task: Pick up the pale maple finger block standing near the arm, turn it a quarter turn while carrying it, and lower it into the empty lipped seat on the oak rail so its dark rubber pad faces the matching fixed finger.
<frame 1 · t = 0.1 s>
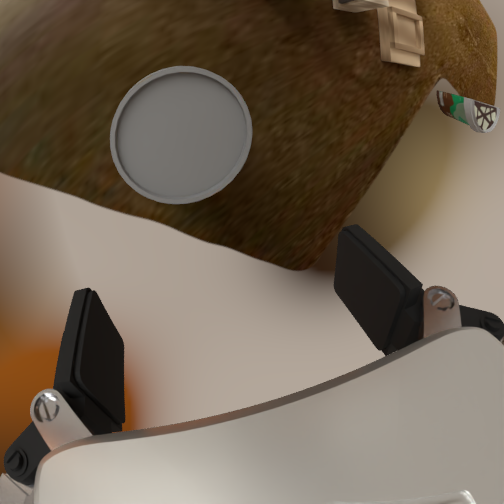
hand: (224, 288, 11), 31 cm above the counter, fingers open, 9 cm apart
reusable coffee cup: (175, 118, 34), on the counter
food container: (448, 107, 44), on the counter
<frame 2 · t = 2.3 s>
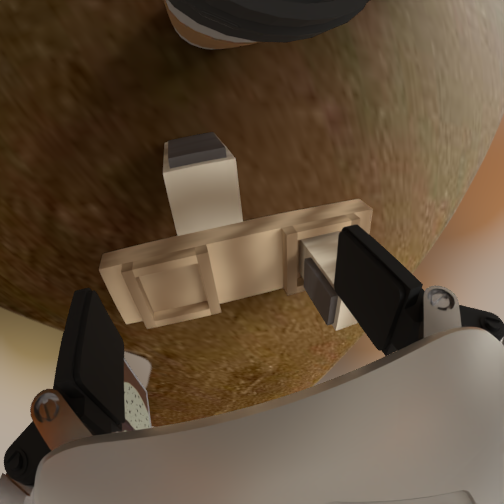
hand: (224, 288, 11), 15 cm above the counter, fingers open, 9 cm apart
rail: (241, 253, 29), on the counter
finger: (193, 160, 23), on the counter
coffee cup: (213, 14, 16), on the counter
food container: (116, 376, 35), on the counter
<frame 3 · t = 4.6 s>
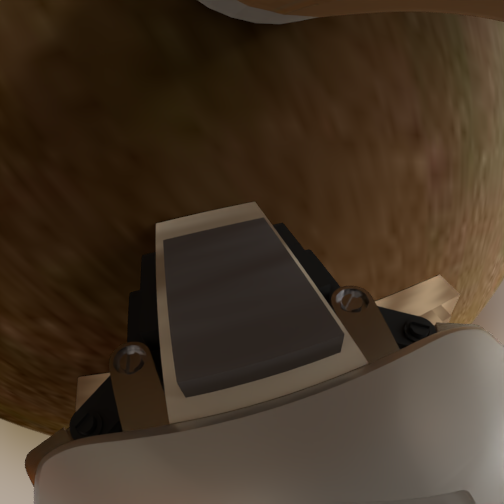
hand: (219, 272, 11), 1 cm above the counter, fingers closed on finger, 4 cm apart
rail: (284, 364, 19), on the counter
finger: (213, 254, 12), on the counter, touching gripper
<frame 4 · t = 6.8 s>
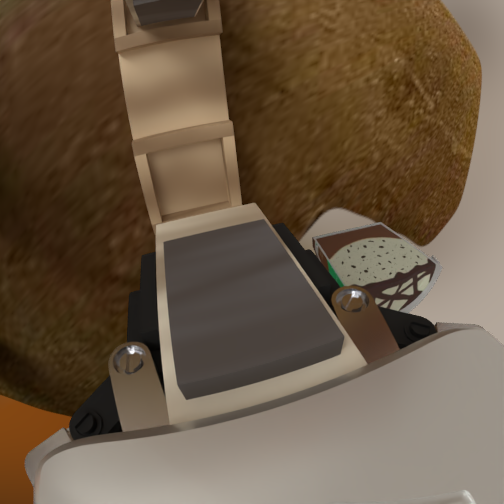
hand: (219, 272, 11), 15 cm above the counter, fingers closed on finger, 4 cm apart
rail: (173, 85, 19), on the counter
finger: (213, 255, 12), point 13 cm above the counter, touching gripper
food container: (345, 250, 34), on the counter
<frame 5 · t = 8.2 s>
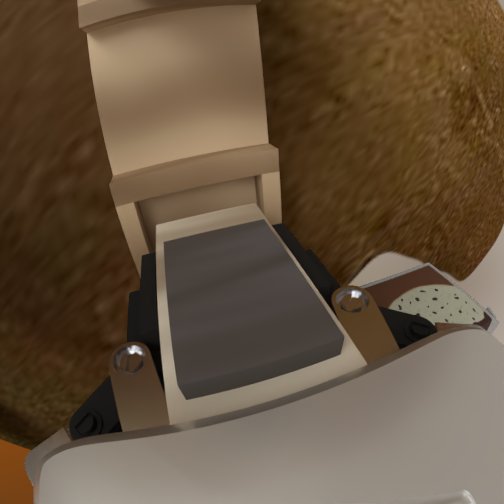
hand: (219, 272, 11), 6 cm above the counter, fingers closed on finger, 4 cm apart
rail: (177, 83, 12), on the counter
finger: (213, 255, 12), point 5 cm above the counter, touching gripper
food container: (387, 297, 27), on the counter
when the fingers open (5 cm above the counter, at t = 9.1 s): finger drops 1 cm, resting on rail.
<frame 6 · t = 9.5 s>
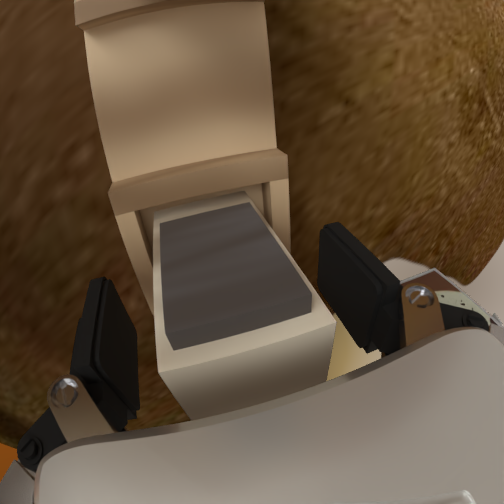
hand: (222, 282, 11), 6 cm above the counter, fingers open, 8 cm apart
rail: (179, 84, 11), on the counter
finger: (207, 239, 13), point 2 cm above the counter, touching rail
food container: (393, 303, 26), on the counter
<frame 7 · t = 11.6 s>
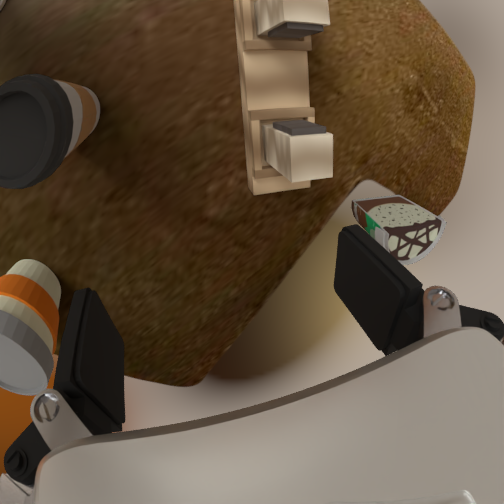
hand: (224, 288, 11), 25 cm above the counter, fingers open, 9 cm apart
rail: (270, 79, 29), on the counter
reusable coffee cup: (35, 284, 34), on the counter
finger: (280, 140, 30), point 2 cm above the counter, touching rail
coffee cup: (75, 113, 25), on the counter
food container: (373, 215, 43), on the counter
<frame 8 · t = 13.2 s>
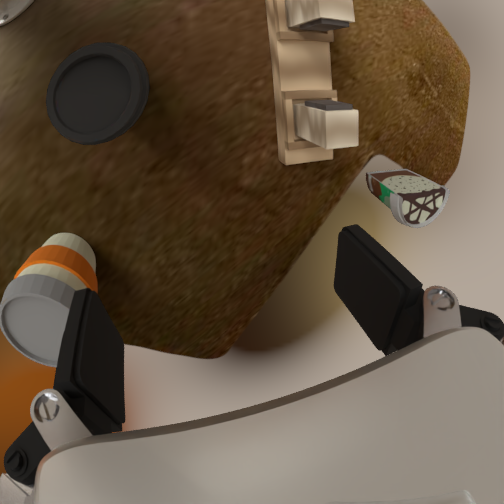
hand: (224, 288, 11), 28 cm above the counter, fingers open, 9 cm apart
rail: (297, 65, 32), on the counter
reusable coffee cup: (68, 258, 37), on the counter
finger: (308, 118, 34), point 2 cm above the counter, touching rail
coffee cup: (121, 90, 28), on the counter
food container: (384, 186, 46), on the counter
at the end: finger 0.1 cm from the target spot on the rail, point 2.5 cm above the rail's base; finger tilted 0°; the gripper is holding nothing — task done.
